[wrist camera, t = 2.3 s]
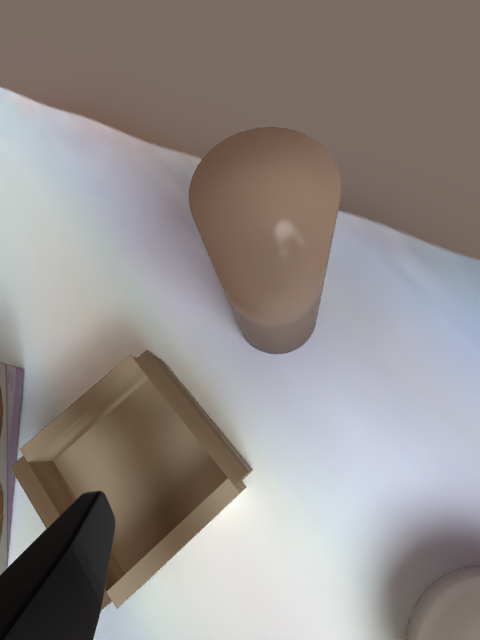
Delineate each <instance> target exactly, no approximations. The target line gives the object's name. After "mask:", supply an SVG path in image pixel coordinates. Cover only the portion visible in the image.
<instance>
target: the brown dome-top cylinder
mask: <svg viewBox="0 0 480 640" xmlns="http://www.w3.org/2000/svg"><path fill="white" fill-rule="evenodd" d="M340 197H341V178H340V174H339V170H338V168H337V165H336V163H335V161H334V160H333V158H332V156H331V155H330V154H329V153H328V151H327V150H326V149H325V148H324V147H323V146H322V145H320V144H319V143H318V142H317V141H315V140H314V139H312V138H310V137H309V136H307V135H305V134H302V133H300V132H297V131H294V130H289V129H284V128H276V127H271V128H270V127H266V128H256V129H251V130H247V131H244V132H241V133H238V134H236V135H233V136H231V137H229V138H227V139H225V140H224V141H222V142H221V143H219V144H218V145H216V146H215V147H214V148H213V149H212V150H210V151H209V152H208V153H207V155H206V156H205V157H204V158H203V159H202V161H201V162H200V163H199V165H198V166H197V168H196V170H195V172H194V175H193V177H192V180H191V184H190V189H189V203H190V209H191V213H192V216H193V218H194V221H195V223H196V225H197V228H198V230H199V233H200V235H201V237H202V240H203V242H204V244H205V247H206V249H207V252H208V254H209V256H210V259H211V261H212V264H213V266H214V268H215V271H216V273H217V276H218V278H219V280H220V283H221V285H222V288H223V290H224V292H225V295H226V297H227V300H228V302H229V304H230V307H231V309H232V312H233V314H234V316H235V319H236V321H237V323H238V326H239V328H240V331H241V333H242V335H243V336H244V338H245V339H246V340H247V342H248V343H249V344H250V345H252V346H253V347H254V348H256V349H258V350H260V351H262V352H265V353H269V354H284V353H288V352H291V351H294V350H296V349H298V348H299V347H301V346H302V345H303V344H305V342H306V341H307V340H308V339H309V338H310V336H311V335H312V333H313V331H314V328H315V325H316V320H317V315H318V310H319V305H320V300H321V295H322V290H323V284H324V279H325V274H326V269H327V264H328V259H329V254H330V249H331V244H332V238H333V233H334V228H335V223H336V218H337V213H338V208H339V203H340Z"/></svg>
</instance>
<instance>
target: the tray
mask: <svg viewBox="0 0 480 640" xmlns="http://www.w3.org/2000/svg"><path fill="white" fill-rule="evenodd" d="M20 450H21V452H22V454H23V455H24V456H22V457H21V458H20V459H19V460H18V461H17V462H15V463H14V464H13V465H12V466H11V469H12V471H13V472H14V474H15V476H16V478H17V479H18V481H19V483H20V484H21V486H22V488H23V489H24V491H25V493H26V495H27V496H28V498H29V500H30V501H31V503H32V505H33V506H34V508H35V510H36V512H37V513H38V515H39V517H40V518H41V520H42V522H43V523H44V525H45V527H46V529H47V528H48V527H49V526H50V525H51V524H52V523H53V522H54V521H55V520H56V519H57V518H58V517H59V516H60V515H61V514H62V513H63V512H64V511H65V510H66V509H67V508H68V507H69V506H70V505H71V504H72V503H73V502H74V501H75V500H76V499H77V498H78V497H79V496H80V495H82V494H83V493H85V492H92V491H102V492H104V493H105V495H106V497H107V499H108V502H109V504H110V506H111V509H112V511H113V513H114V516H115V522H116V525H115V533H114V539H113V545H112V551H111V557H110V563H109V569H108V574H107V580H106V586H105V592H104V597H103V603H102V607H101V610H102V609H104V608H105V607H106V606H107V605H108V604H109V603H111V602H113V603H114V605H115V607H116V608H118V607H119V606H120V605H122V604H123V603H124V602H125V601H126V600H127V599H128V598H129V597H130V596H131V595H133V594H134V593H135V592H136V591H137V590H138V589H139V588H140V587H141V586H142V585H144V584H145V583H146V582H147V581H148V580H149V579H150V578H151V577H152V576H153V575H154V574H155V573H156V572H157V571H158V570H159V569H160V568H162V567H163V566H164V565H165V564H166V563H167V562H168V561H169V560H170V559H171V558H172V557H173V556H174V555H175V554H176V553H177V552H178V551H179V550H181V549H182V548H183V547H184V546H185V545H186V544H187V543H188V542H189V541H190V540H191V539H192V538H193V537H194V536H195V535H196V534H197V533H199V532H200V531H201V530H202V529H203V528H204V527H205V526H206V525H207V524H208V523H209V522H210V521H211V520H212V519H213V518H214V517H215V516H217V515H218V514H219V513H220V512H221V511H222V510H223V509H224V508H225V507H226V506H227V505H228V504H229V503H230V502H231V501H232V500H233V499H235V498H236V497H237V496H238V495H239V494H240V493H241V492H242V491H243V490H244V489H245V488H246V486H245V484H244V483H243V482H242V480H243V479H244V478H245V477H246V476H247V475H248V474H249V473H250V472H251V471H252V470H253V469H252V468H251V467H250V466H249V465H248V463H247V462H246V461H245V460H244V459H243V457H242V456H241V455H240V454H239V452H238V451H237V450H236V449H235V448H234V446H233V445H232V444H231V443H230V442H229V440H228V439H227V438H226V437H225V435H224V434H223V433H222V432H221V431H220V429H219V428H218V427H217V426H216V424H215V423H214V422H213V421H212V420H211V418H210V417H209V416H208V415H207V414H206V412H205V411H204V410H203V409H202V407H201V406H200V405H199V404H198V403H197V401H196V400H195V399H194V398H193V396H192V395H191V394H190V393H189V392H188V390H187V389H186V388H185V387H184V386H183V384H182V383H181V382H180V381H179V379H178V378H177V377H176V376H175V375H174V373H173V372H172V371H171V370H170V369H169V367H168V366H167V365H166V364H165V362H163V361H162V360H160V359H159V358H157V357H156V356H155V355H153V354H152V353H150V352H149V351H148V350H146V351H145V352H144V353H143V354H142V355H141V356H139V357H138V358H137V359H136V358H135V357H133V356H131V355H130V356H128V357H127V358H126V359H125V360H124V361H123V362H121V363H120V364H119V365H118V366H117V367H116V368H114V369H113V370H112V371H111V372H110V373H108V374H107V375H106V376H105V377H104V378H103V379H101V380H100V381H99V382H98V383H97V384H96V385H94V386H93V387H92V388H91V389H90V390H88V391H87V392H86V393H85V394H84V395H83V396H81V397H80V398H79V399H78V400H77V401H76V402H74V403H73V404H72V405H71V406H70V407H69V408H67V409H66V410H65V411H64V412H63V413H61V414H60V415H59V416H58V417H57V418H56V419H54V420H53V421H52V422H51V423H50V424H49V425H47V426H46V427H45V428H44V429H43V430H42V431H40V432H39V433H38V434H37V435H36V436H34V437H33V438H32V439H31V440H30V441H29V442H27V443H26V444H25V445H24V446H23V447H22V448H20Z"/></svg>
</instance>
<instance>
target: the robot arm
mask: <svg viewBox="0 0 480 640" xmlns="http://www.w3.org/2000/svg"><path fill="white" fill-rule="evenodd" d="M115 525H116V522H115V516H114V513H113V511H112V509H111V506H110V504H109V502H108V499H107V497H106V495H105V493H104V492H102V491H92V492H85V493H83V494H82V495H80V496H79V497H78V498H77V499H76V500H75V501H74V502H73V503H72V504H71V505H70V506H69V507H68V508H67V509H66V510H65V511H64V512H63V513H62V514H61V515H60V516H59V517H58V518H57V519H56V520H55V521H54V522H53V523H52V524H51V525H50V526H49V527H48V528H47V529H46V530H45V531H44V532H43V533H42V534H41V535H40V536H39V537H38V538H37V539H36V540H35V541H34V542H33V543H32V544H31V545H30V546H29V547H28V548H27V549H26V550H25V551H24V552H23V553H22V554H21V555H20V556H19V557H18V558H17V559H16V560H15V561H14V562H13V563H12V564H11V565H10V566H9V567H8V568H7V569H6V570H5V571H4V572H3V573H2V574H1V575H0V640H93V638H94V634H95V631H96V627H97V623H98V619H99V615H100V611H101V607H102V603H103V597H104V592H105V586H106V580H107V574H108V569H109V563H110V557H111V551H112V545H113V539H114V533H115Z"/></svg>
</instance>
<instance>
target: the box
mask: <svg viewBox="0 0 480 640" xmlns="http://www.w3.org/2000/svg"><path fill="white" fill-rule="evenodd" d="M23 376H24V370H23V369H22V368H19V367H16V366H12V365H9V364H5V363H2V362H0V575H1V574H2V573H3V572H4V571H5V570H6V569H7V561H8V550H9V538H10V526H11V513H12V501H13V491H14V480H15V474H14V472H13V471H12V469H11V466H12V465H13V464H14V463H15V462H16V456H17V444H18V432H19V421H20V409H21V398H22V387H23Z"/></svg>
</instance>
